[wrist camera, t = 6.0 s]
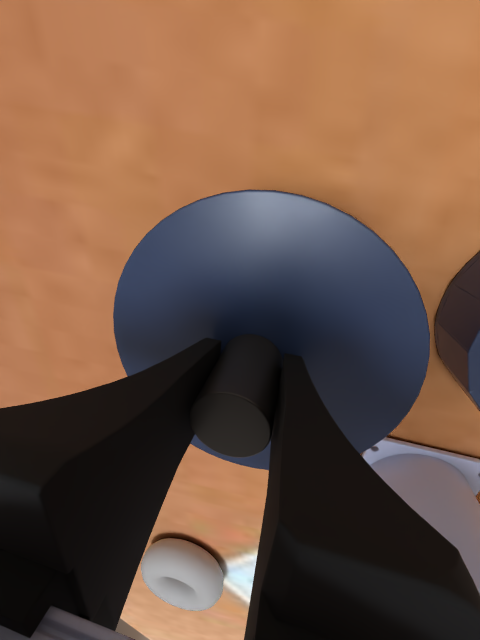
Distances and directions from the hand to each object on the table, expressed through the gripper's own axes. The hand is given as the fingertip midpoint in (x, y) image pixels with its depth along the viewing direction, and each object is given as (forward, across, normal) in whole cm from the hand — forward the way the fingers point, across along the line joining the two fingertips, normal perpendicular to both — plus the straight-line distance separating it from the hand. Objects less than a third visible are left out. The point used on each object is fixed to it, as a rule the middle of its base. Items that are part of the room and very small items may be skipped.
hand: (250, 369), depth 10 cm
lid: (+1, 0, 0) cm, 1 cm away
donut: (+8, +6, +35) cm, 37 cm away
